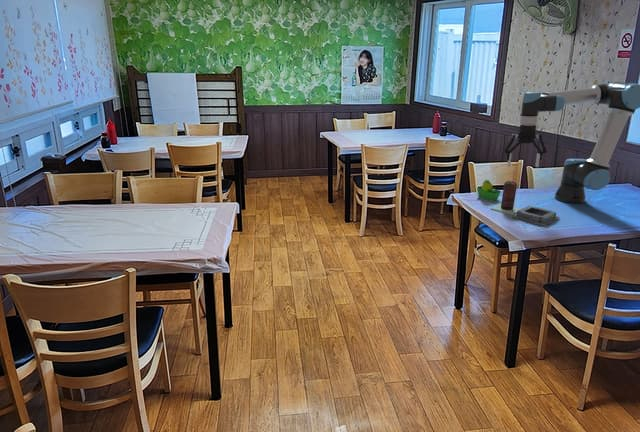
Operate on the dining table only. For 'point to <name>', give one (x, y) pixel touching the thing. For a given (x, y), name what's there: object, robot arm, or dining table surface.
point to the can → (508, 195)
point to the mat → (513, 211)
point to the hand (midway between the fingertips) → (522, 166)
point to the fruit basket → (488, 191)
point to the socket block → (536, 215)
